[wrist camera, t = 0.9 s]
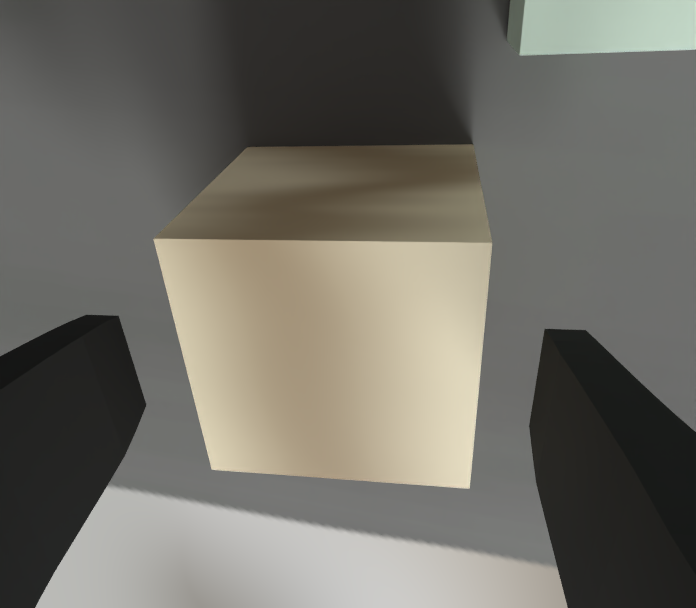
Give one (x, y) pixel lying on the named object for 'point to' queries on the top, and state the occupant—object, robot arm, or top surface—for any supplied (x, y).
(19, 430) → the robot arm
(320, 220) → the maple cube
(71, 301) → the top surface
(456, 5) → the top surface
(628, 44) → the pale green slab
